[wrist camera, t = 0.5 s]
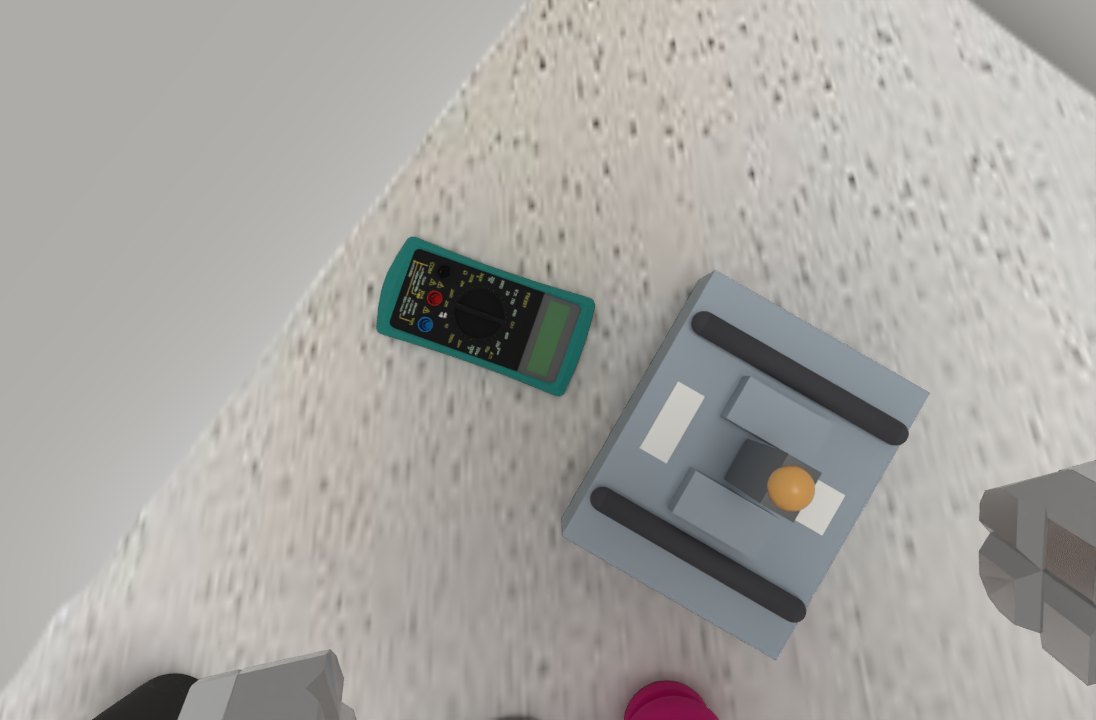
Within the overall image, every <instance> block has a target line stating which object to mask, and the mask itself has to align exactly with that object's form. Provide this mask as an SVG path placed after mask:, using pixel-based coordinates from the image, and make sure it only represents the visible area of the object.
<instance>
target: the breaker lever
mask: <svg viewBox="0 0 1096 720" xmlns="http://www.w3.org/2000/svg"><path fill="white" fill-rule="evenodd" d="M821 474H822V473H821V472H819V471H818V470H816V469H814V468H813V467H811V466H809V465H807V464H806V463H804V462H802V461H800V460H799V459H797V458H795V457H793V456H792V455H790V454H788V453H785V452H783V451H780V450H777V449H775V448H772V447H769V446H767V445H764V444H761V443H759V442H756V441H753V440H751V439H748V438H747V440H746V441H745V443H744V445H743V447H742V448H741V450H740V452H739V454H738V455H737V457H736V459H735V461H734V462H733V464H732V466H731V467H730V469H729V471H728V473H727V474H726V476H725V478H724V480H726V481H727V482H729V483H730V484H732V485H733V486H735V487H736V488H738V489H739V490H741V491H742V492H744V493H745V494H747V495H748V496H750V497H751V498H753V499H754V500H756V501H757V502H758V503H760V504H762V505H763V506H765V507H767V508H769V509H770V510H772V511H774V512H776V513H777V514H779V515H781V516H782V517H784V518H786V519H788V520H789V521H791V522H793V523H794V521H795V519H796V517H797V516H798V514H799V512H800V510H802V509H804V508H806V507H807V506H808V505H809V504H810V503H811V502H812V500H813V498H814V495H815V484H816V483H817V481H818V479H819V478H820V476H821Z"/></svg>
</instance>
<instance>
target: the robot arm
mask: <svg viewBox="0 0 1096 720" xmlns="http://www.w3.org/2000/svg"><path fill="white" fill-rule="evenodd" d="M979 521H980V522H981V523H982V524H983V525H984V527H985V528H986V529H987V530H988V531H989V532H990V534H989V536H988V537H987V539H986V541H985V542H984V544H983V546H982V547H981V549H980V550H979V572H980V577H981V580H982V582H983V585H984V587H985V590H986V592H987V595H988V597H989V598H990V600H991V601H992V602H993V604H994V605H995V606H996V608H997V609H998V610H999V612H1001V613H1002V614H1003V615H1004V616H1005V617H1006V618H1007V619H1009V620H1010V621H1011V622H1012V623H1013V624H1015V625H1017V626H1020V627H1023V628H1026V629H1029V630H1032V631H1035V632H1038V633H1040V637H1041V643H1042V648H1043V649H1044V650H1045V651H1046V652H1048V653H1049V654H1050V655H1051V656H1052V657H1054V658H1055V659H1056V660H1057V661H1058V662H1060V663H1061V664H1062V665H1063V666H1064V667H1066V668H1067V669H1068V670H1069V671H1070V672H1072V673H1073V674H1074V675H1075V676H1076V677H1078V678H1079V679H1080V680H1081V681H1082V682H1084V683H1085V684H1086V685H1087V686H1088V685H1092V684H1096V460H1094V461H1091V462H1087V463H1083V464H1080V465H1076V466H1073V467H1069V468H1066V469H1062V470H1059V471H1058V472H1055V473H1051V474H1047V475H1043V476H1039V477H1035V478H1032V479H1028V480H1024V481H1020V482H1016V483H1012V484H1008V485H1004V486H1001V487H997V488H993V489H989V490H985V492H984V494H983V497H982V499H981V501H980V512H979ZM343 683H344V677H343V674H342V671H341V668H340V665H339V662H338V659H337V656H336V655H335V654H334V652H333V651H332V650H331V649H329V650H325V651H320V652H316V653H311V654H307V655H302V656H298V657H293V658H289V659H284V660H280V661H275V662H271V663H266V664H262V665H257V666H253V667H248V668H244V669H243V670H235V671H231V672H227V673H223V674H219V675H214V676H210V677H206V678H202V679H199V680H198V681H197V682H195V683H194V684H193V685H192V686H191V687H190V689H189V692H188V694H187V697H186V699H185V702H184V704H183V707H182V710H181V712H180V715H179V717H178V720H356V717H355V713H354V710H353V709H352V708H350V707H349V706H347V705H346V704H344V703H343V702H341V701H342V692H343Z"/></svg>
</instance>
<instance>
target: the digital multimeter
mask: <svg viewBox="0 0 1096 720" xmlns="http://www.w3.org/2000/svg"><path fill="white" fill-rule="evenodd" d="M430 252H431V253H430ZM433 253H434V254H433ZM436 254H437V255H436ZM450 259H451V260H450ZM453 260H454V261H453ZM409 264H410V265H409ZM467 265H468V266H467ZM405 275H406V276H405ZM404 278H405V279H404ZM472 287H473V288H472ZM493 290H494V291H493ZM399 292H400V293H399ZM398 295H399V296H398ZM594 308H595V303H594V301H593V300H592V299H590V298H588V297H584V296H581V295H578V294H574V293H571V292H568V291H564V290H561V289H558V288H554V287H551V286H548V285H544V284H541V283H538V282H535V281H532V280H529V279H526V278H523V277H520V276H517V275H514V274H511V273H508V272H505V271H502V270H499V269H496V268H493V267H491V266H488V265H485V264H483V263H480V262H477V261H475V260H472V259H470V258H467V257H464V256H462V255H459V254H456V253H454V252H451V251H449V250H446V249H444V248H441V247H439V246H436V245H434V244H431V243H429V242H427V241H424V240H422V239H419V238H417V237H410V238H408V239H407V241H406V242H405V244H404V245H403V247H402V248H401V250H400V251H399V253H398V255H397V256H396V258H395V260H394V261H393V263H392V265H391V267H390V269H389V271H388V273H387V275H386V278H385V281H384V284H383V287H382V290H381V295H380V301H379V306H378V316H377V326H376V329H377V331H378V332H379V333H380V334H383V335H386V336H390V337H393V338H396V339H400V340H403V341H406V342H410V343H413V344H416V345H419V346H422V347H425V348H429V349H432V350H435V351H438V352H441V353H444V354H447V355H450V356H453V357H456V358H459V359H462V360H465V361H468V362H470V363H473V364H476V365H479V366H481V367H484V368H487V369H489V370H492V371H495V372H498V373H500V374H503V375H506V376H508V377H511V378H513V379H516V380H518V381H520V382H523V383H525V384H528V385H530V386H533V387H535V388H538V389H540V390H543V391H545V392H548V393H550V394H553V395H555V396H561V395H563V394H564V392H565V391H566V388H567V386H568V384H569V382H570V379H571V377H572V375H573V373H574V370H575V368H576V365H577V363H578V360H579V358H580V355H581V352H582V349H583V347H584V344H585V341H586V337H587V334H588V331H589V327H590V324H591V320H592V316H593V312H594ZM393 309H394V310H393ZM579 314H580V315H579ZM506 317H507V318H506ZM406 332H407V333H406ZM461 334H462V335H461ZM420 337H421V338H420ZM423 338H424V339H423ZM542 380H543V381H542Z"/></svg>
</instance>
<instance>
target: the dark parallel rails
mask: <svg viewBox="0 0 1096 720" xmlns="http://www.w3.org/2000/svg"><path fill="white" fill-rule="evenodd" d="M691 325H692V329H693V330H694V332H695V333H697V334H698V335H700V336H701V337H703V338H705V339H707V340H708V341H710V342H712V343H714V344H715V345H717V346H719V347H721V348H722V349H724V350H726V351H728V352H729V353H731V354H733V355H735V356H736V357H738V358H740V359H742V360H743V361H745V362H747V363H748V364H750V365H752V366H754V367H755V368H757V369H759V370H761V371H762V372H764V373H766V374H768V375H769V376H771V377H773V378H775V379H776V380H778V381H780V382H782V383H783V384H785V385H787V386H789V387H790V388H792V389H794V390H795V391H797V392H799V393H801V394H802V395H804V396H806V397H808V398H809V399H811V400H813V401H815V402H816V403H818V404H820V405H822V406H823V407H825V408H827V409H829V410H830V411H832V412H834V413H836V414H837V415H839V416H841V417H842V418H844V419H846V420H848V421H849V422H851V423H853V424H855V425H856V426H858V427H860V428H862V429H863V430H865V431H867V432H869V433H870V434H872V435H874V436H876V437H877V438H879V439H881V440H883V441H884V442H886V443H888V444H890V445H895V446H897V445H901V444H903V443H904V442H905V441H906V440H907V438H908V435H909V433H908V428H907V427H906V426H905V424H903V423H902V422H900V421H899V420H897V419H895V418H893V417H892V416H890V415H888V414H886V413H885V412H883V411H881V410H879V409H878V408H876V407H874V406H872V405H871V404H869V403H867V402H865V401H864V400H862V399H860V398H858V397H857V396H855V395H853V394H851V393H850V392H848V391H846V390H845V389H843V388H841V387H839V386H838V385H836V384H834V383H832V382H831V381H829V380H827V379H825V378H824V377H822V376H820V375H818V374H817V373H815V372H813V371H811V370H810V369H808V368H806V367H804V366H803V365H801V364H799V363H797V362H796V361H794V360H792V359H790V358H789V357H787V356H785V355H784V354H782V353H780V352H778V351H777V350H775V349H773V348H771V347H770V346H768V345H766V344H764V343H763V342H761V341H759V340H757V339H756V338H754V337H752V336H750V335H749V334H747V333H745V332H743V331H742V330H740V329H738V328H736V327H735V326H733V325H731V324H729V323H728V322H726V321H724V320H723V319H721V318H719V317H717V316H716V315H714V314H712V313H710V312H708V311H701V312H698V313H697V314H695V315H694V317H693V318H692V322H691ZM590 502H591V505H592V506H593V508H594V509H596V510H597V511H599V512H600V513H602V514H604V515H606V516H607V517H609V518H611V519H612V520H614V521H616V522H618V523H619V524H621V525H623V526H625V527H626V528H628V529H630V530H631V531H633V532H635V533H637V534H638V535H640V536H642V537H643V538H645V539H647V540H649V541H650V542H652V543H654V544H656V545H657V546H659V547H661V548H662V549H664V550H666V551H668V552H669V553H671V554H673V555H675V556H676V557H678V558H680V559H681V560H683V561H685V562H687V563H688V564H690V565H692V566H693V567H695V568H697V569H699V570H700V571H702V572H704V573H706V574H707V575H709V576H711V577H712V578H714V579H716V580H718V581H719V582H721V583H723V584H725V585H726V586H728V587H730V588H731V589H733V590H735V591H737V592H738V593H740V594H742V595H743V596H745V597H747V598H749V599H750V600H752V601H754V602H756V603H757V604H759V605H761V606H762V607H764V608H766V609H768V610H769V611H771V612H773V613H775V614H776V615H778V616H780V617H781V618H783V619H785V620H787V621H789V622H792V623H797V622H800V621H802V620H803V619H804V617H805V615H806V607H805V604H804V603H803V601H802V600H800V599H799V598H797V597H796V596H794V595H792V594H790V593H789V592H787V591H785V590H783V589H782V588H780V587H778V586H777V585H775V584H773V583H771V582H770V581H768V580H766V579H764V578H763V577H761V576H759V575H758V574H756V573H754V572H752V571H751V570H749V569H747V568H746V567H744V566H742V565H740V564H739V563H737V562H735V561H733V560H732V559H730V558H728V557H727V556H725V555H723V554H721V553H720V552H718V551H716V550H714V549H713V548H711V547H709V546H708V545H706V544H704V543H702V542H701V541H699V540H697V539H695V538H694V537H692V536H690V535H689V534H687V533H685V532H683V531H682V530H680V529H678V528H676V527H675V526H673V525H671V524H670V523H668V522H666V521H664V520H663V519H661V518H659V517H657V516H656V515H654V514H652V513H651V512H649V511H647V510H645V509H644V508H642V507H640V506H638V505H637V504H635V503H633V502H632V501H630V500H628V499H626V498H625V497H623V496H621V495H619V494H618V493H616V492H614V491H613V490H611V489H609V488H607V487H598V488H596V489H595V490H594V491H593V492H592V494H591V496H590Z"/></svg>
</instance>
